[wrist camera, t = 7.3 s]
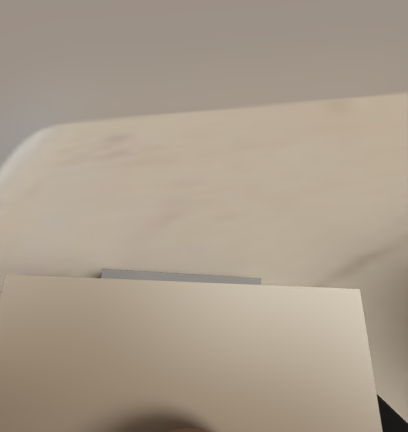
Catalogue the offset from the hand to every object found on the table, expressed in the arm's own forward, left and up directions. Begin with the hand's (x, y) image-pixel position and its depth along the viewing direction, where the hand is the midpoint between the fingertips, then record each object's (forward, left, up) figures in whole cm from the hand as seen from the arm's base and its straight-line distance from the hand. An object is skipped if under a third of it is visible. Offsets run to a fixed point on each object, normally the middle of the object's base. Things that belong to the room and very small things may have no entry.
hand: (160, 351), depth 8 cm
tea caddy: (-1, 0, -8) cm, 9 cm away
